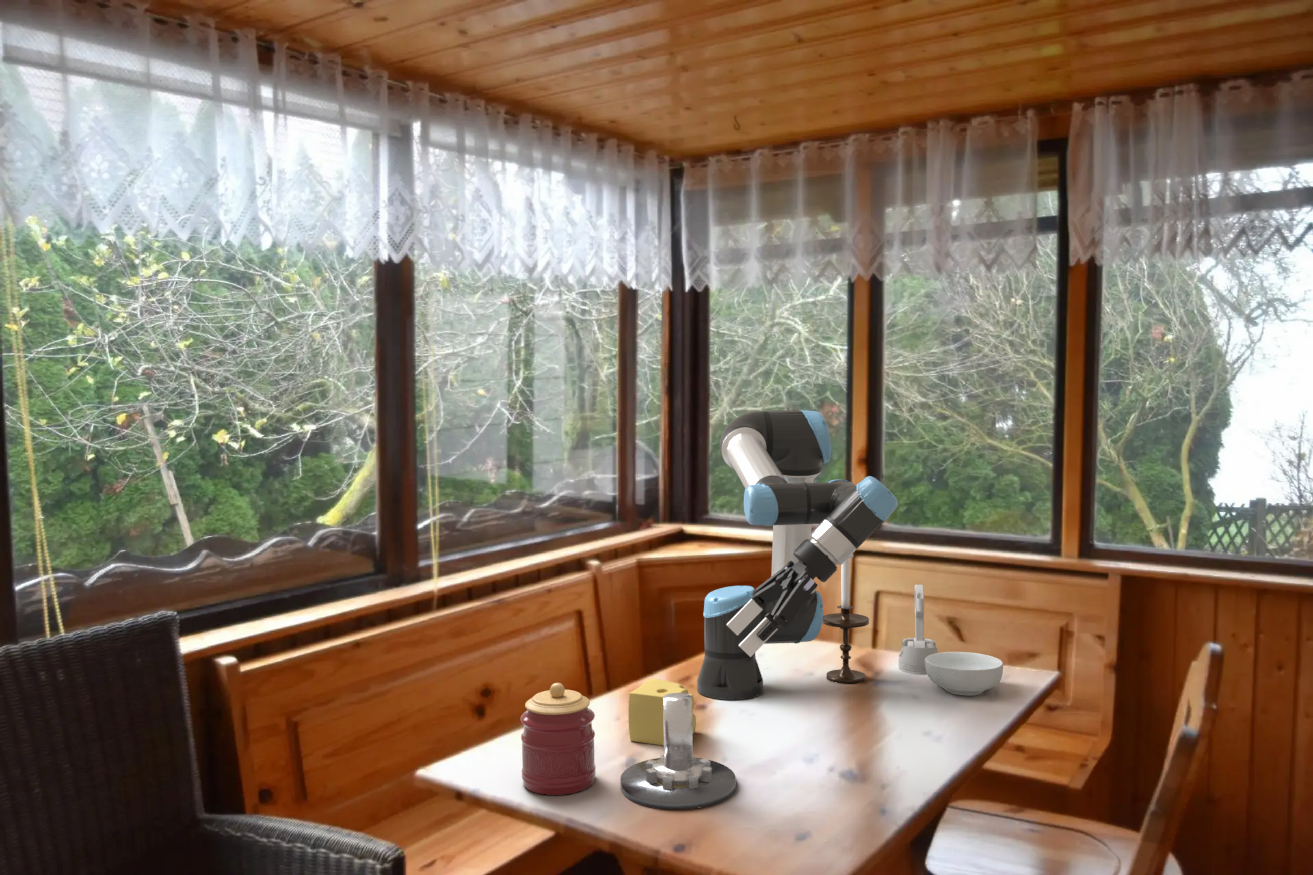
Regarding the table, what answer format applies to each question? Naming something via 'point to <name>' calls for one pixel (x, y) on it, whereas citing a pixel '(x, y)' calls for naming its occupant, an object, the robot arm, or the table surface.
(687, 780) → the sun gear
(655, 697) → the cheese
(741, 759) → the table surface
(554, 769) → the canister
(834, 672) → the candlestick
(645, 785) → the carrier plate
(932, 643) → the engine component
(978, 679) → the cereal bowl
